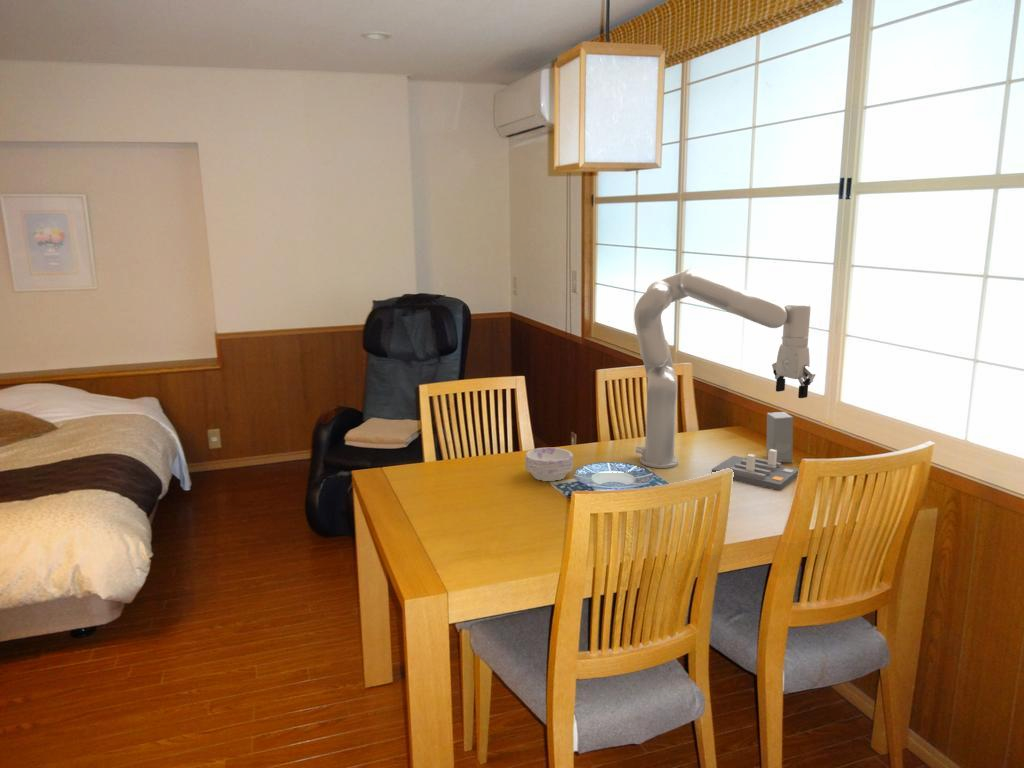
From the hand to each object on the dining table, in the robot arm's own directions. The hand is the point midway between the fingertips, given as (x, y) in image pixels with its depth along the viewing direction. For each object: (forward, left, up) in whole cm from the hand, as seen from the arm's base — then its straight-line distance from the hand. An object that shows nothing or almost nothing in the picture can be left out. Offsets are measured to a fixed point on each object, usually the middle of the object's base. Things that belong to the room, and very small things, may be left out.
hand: (791, 394), depth 236 cm
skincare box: (-6, +8, -26) cm, 27 cm away
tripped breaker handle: (-6, -16, -23) cm, 29 cm away
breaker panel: (-6, -12, -25) cm, 28 cm away
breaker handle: (-2, -7, -23) cm, 24 cm away
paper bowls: (-57, -54, -26) cm, 82 cm away
